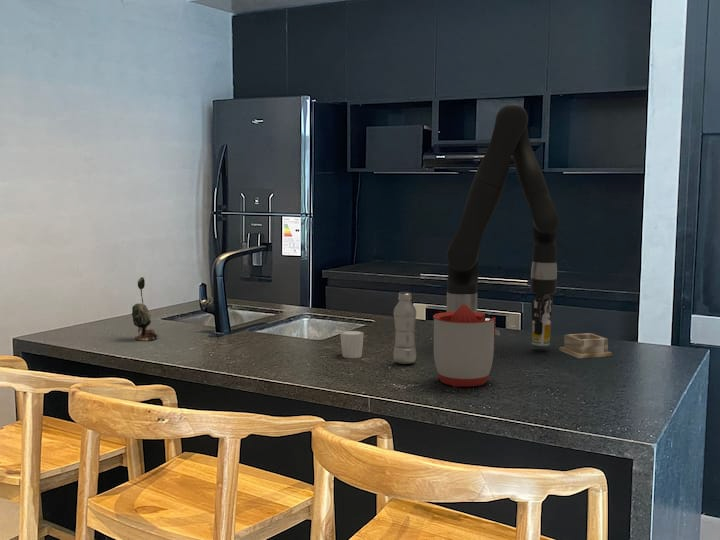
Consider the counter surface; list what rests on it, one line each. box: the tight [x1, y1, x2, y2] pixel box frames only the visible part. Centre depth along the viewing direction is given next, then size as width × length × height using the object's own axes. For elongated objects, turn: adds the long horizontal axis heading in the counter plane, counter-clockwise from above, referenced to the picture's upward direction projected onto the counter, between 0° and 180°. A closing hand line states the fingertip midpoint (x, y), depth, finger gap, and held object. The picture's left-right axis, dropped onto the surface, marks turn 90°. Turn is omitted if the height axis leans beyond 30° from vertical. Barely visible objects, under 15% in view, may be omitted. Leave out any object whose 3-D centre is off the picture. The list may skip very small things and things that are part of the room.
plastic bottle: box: [392, 291, 417, 365], centre depth 213 cm, size 6×7×20 cm
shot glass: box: [339, 330, 364, 359], centre depth 223 cm, size 7×7×7 cm
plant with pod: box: [131, 276, 159, 342], centre depth 248 cm, size 8×11×20 cm
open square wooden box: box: [558, 332, 613, 359], centre depth 227 cm, size 11×11×5 cm
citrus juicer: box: [432, 304, 501, 388], centre depth 193 cm, size 16×17×20 cm
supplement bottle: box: [531, 311, 552, 347], centre depth 230 cm, size 5×5×10 cm
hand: (541, 332), depth 230 cm, fingers closed on supplement bottle, 5 cm apart
